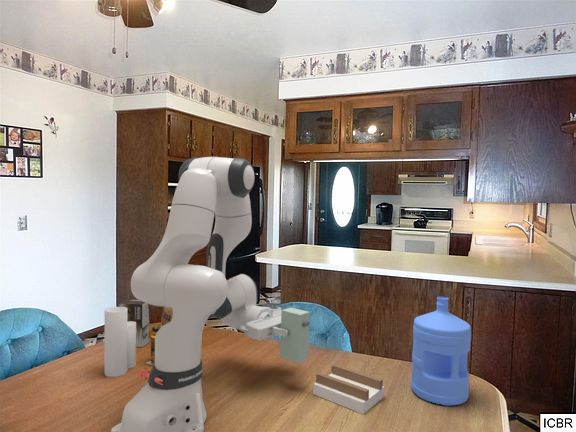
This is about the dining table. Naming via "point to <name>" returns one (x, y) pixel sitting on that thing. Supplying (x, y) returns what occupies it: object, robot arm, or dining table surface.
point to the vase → (119, 342)
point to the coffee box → (138, 319)
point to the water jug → (441, 356)
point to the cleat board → (349, 388)
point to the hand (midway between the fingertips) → (294, 331)
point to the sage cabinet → (295, 335)
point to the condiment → (153, 343)
